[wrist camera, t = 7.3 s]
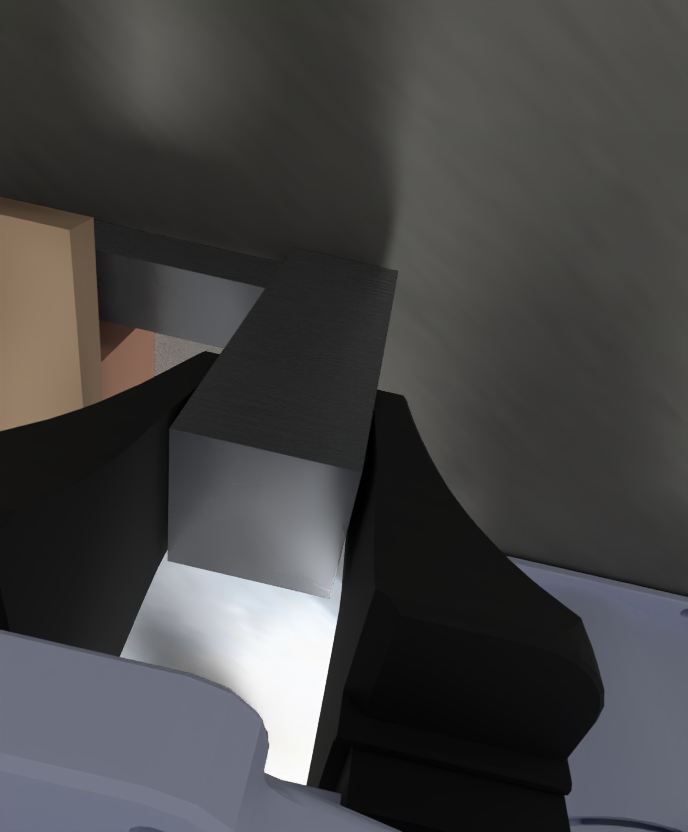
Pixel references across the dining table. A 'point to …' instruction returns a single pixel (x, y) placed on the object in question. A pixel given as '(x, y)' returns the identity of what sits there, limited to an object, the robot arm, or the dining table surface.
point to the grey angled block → (259, 396)
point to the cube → (124, 357)
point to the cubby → (47, 314)
